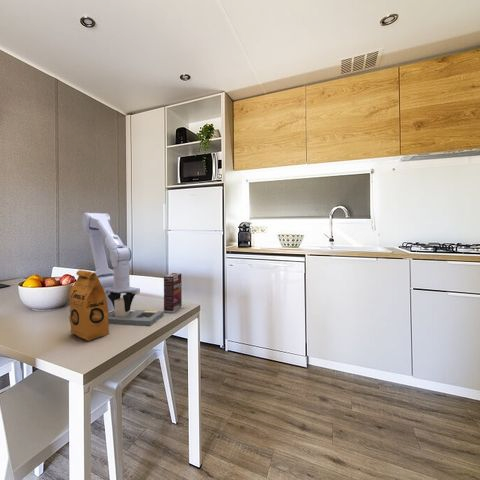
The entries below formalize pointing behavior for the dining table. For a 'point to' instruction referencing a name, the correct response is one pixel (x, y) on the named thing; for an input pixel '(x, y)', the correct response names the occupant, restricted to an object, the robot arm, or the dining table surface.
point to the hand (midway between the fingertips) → (122, 310)
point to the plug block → (120, 308)
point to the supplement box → (172, 292)
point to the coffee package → (88, 307)
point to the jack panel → (136, 318)
